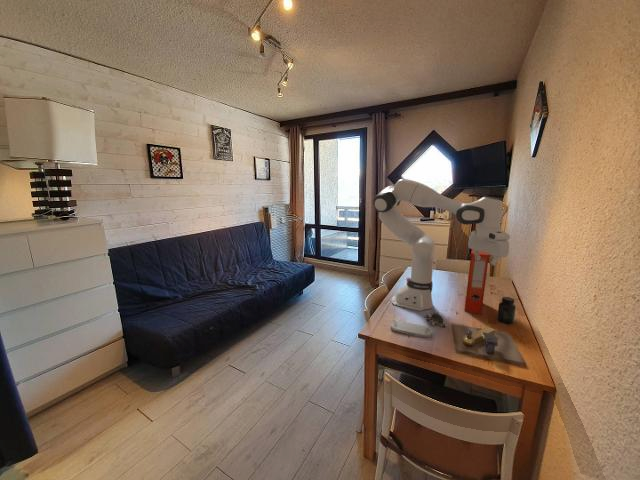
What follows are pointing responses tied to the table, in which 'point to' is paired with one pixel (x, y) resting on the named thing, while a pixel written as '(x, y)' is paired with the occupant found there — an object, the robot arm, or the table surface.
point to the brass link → (476, 336)
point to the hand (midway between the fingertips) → (485, 262)
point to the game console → (411, 329)
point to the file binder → (476, 283)
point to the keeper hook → (490, 342)
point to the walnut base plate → (502, 352)
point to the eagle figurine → (436, 319)
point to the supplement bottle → (506, 311)
